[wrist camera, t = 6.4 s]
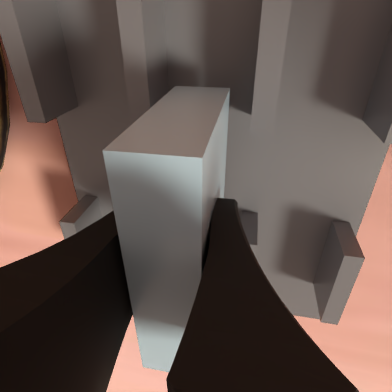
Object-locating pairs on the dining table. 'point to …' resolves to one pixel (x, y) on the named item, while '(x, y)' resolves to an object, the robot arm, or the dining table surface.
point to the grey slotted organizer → (238, 113)
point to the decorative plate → (3, 109)
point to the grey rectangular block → (168, 209)
